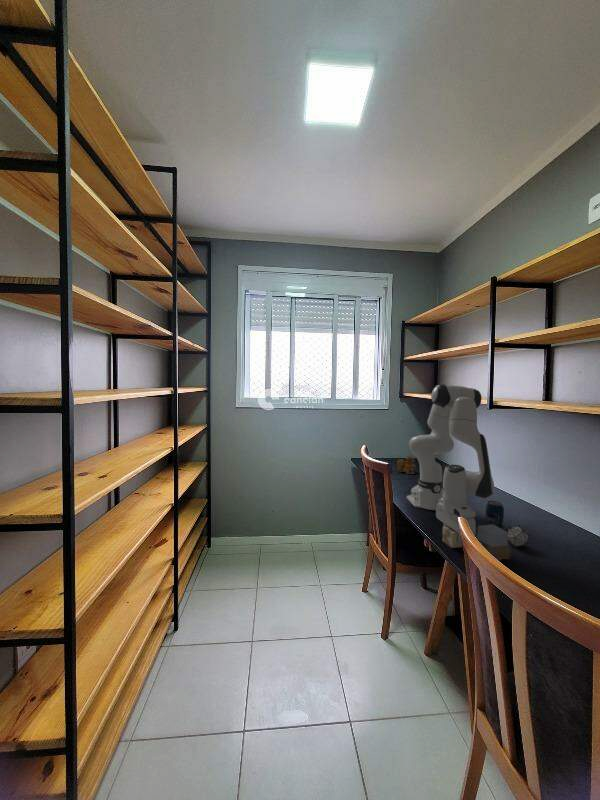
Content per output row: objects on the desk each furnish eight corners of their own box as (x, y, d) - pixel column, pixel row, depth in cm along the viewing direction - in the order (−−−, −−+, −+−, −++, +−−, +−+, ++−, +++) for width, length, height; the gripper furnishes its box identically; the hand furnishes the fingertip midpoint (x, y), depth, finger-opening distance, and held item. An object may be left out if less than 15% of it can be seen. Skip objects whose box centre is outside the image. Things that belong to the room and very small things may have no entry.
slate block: (477, 538, 123) (477, 525, 123) (493, 536, 124) (493, 524, 124) (491, 547, 116) (491, 533, 116) (507, 545, 117) (507, 532, 117)
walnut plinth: (475, 550, 123) (475, 537, 123) (492, 548, 125) (493, 536, 125) (490, 561, 116) (491, 548, 115) (509, 559, 117) (509, 546, 117)
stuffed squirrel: (415, 475, 229) (415, 457, 228) (395, 473, 235) (395, 456, 234) (416, 472, 238) (416, 455, 237) (397, 470, 244) (397, 453, 243)
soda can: (483, 529, 142) (484, 503, 141) (487, 524, 147) (488, 499, 146) (501, 534, 137) (501, 507, 137) (504, 528, 142) (505, 502, 142)
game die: (512, 555, 127) (495, 534, 128) (516, 541, 132) (500, 521, 133) (534, 553, 120) (517, 531, 121) (538, 538, 125) (521, 517, 127)
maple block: (442, 540, 131) (442, 526, 131) (455, 539, 132) (455, 525, 132) (451, 548, 125) (451, 533, 125) (465, 546, 126) (465, 532, 126)
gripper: (432, 497, 138) (431, 527, 138) (464, 515, 118) (463, 551, 118) (445, 496, 139) (444, 526, 139) (479, 514, 119) (478, 550, 119)
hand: (453, 538), depth 129 cm, fingers closed on maple block, 6 cm apart
